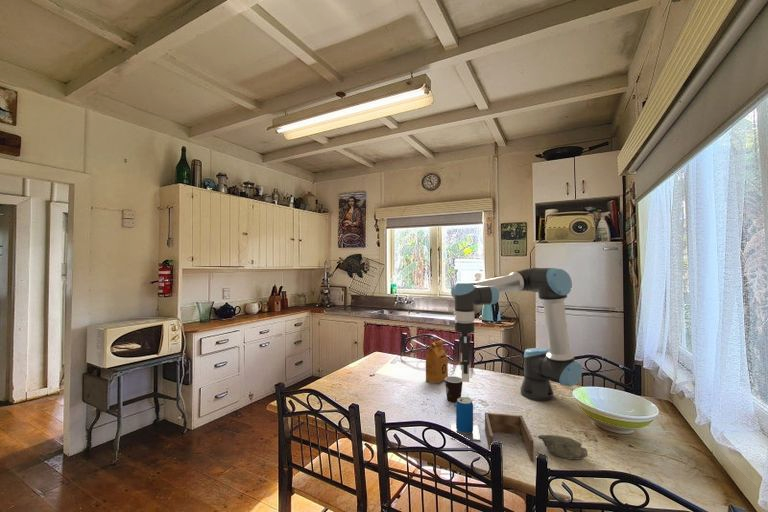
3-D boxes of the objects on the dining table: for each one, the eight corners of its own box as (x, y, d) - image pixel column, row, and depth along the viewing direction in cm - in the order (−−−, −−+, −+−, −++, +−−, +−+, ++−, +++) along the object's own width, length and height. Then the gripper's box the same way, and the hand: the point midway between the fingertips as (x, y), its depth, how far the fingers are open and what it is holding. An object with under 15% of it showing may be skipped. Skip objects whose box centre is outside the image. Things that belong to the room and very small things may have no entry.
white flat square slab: (478, 426, 134) (478, 425, 134) (480, 441, 123) (480, 439, 123) (450, 424, 136) (450, 422, 136) (450, 438, 125) (450, 436, 125)
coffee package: (450, 380, 186) (450, 341, 186) (437, 385, 177) (437, 345, 177) (436, 375, 193) (436, 337, 193) (423, 381, 184) (423, 341, 185)
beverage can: (460, 424, 134) (460, 395, 134) (475, 430, 130) (475, 399, 130) (453, 431, 129) (453, 400, 129) (468, 436, 125) (468, 405, 125)
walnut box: (522, 433, 129) (522, 415, 129) (533, 461, 111) (533, 440, 111) (484, 429, 131) (484, 412, 131) (490, 456, 114) (490, 436, 114)
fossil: (573, 475, 109) (590, 456, 113) (570, 453, 106) (588, 434, 110) (535, 447, 121) (552, 431, 125) (531, 426, 118) (549, 410, 122)
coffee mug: (463, 404, 154) (463, 383, 154) (444, 403, 156) (444, 381, 156) (462, 394, 166) (462, 374, 166) (444, 393, 167) (444, 373, 167)
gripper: (454, 315, 143) (454, 364, 143) (455, 327, 118) (455, 386, 118) (472, 316, 141) (472, 365, 141) (476, 328, 117) (477, 388, 117)
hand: (464, 375), depth 130 cm, fingers open, 13 cm apart
